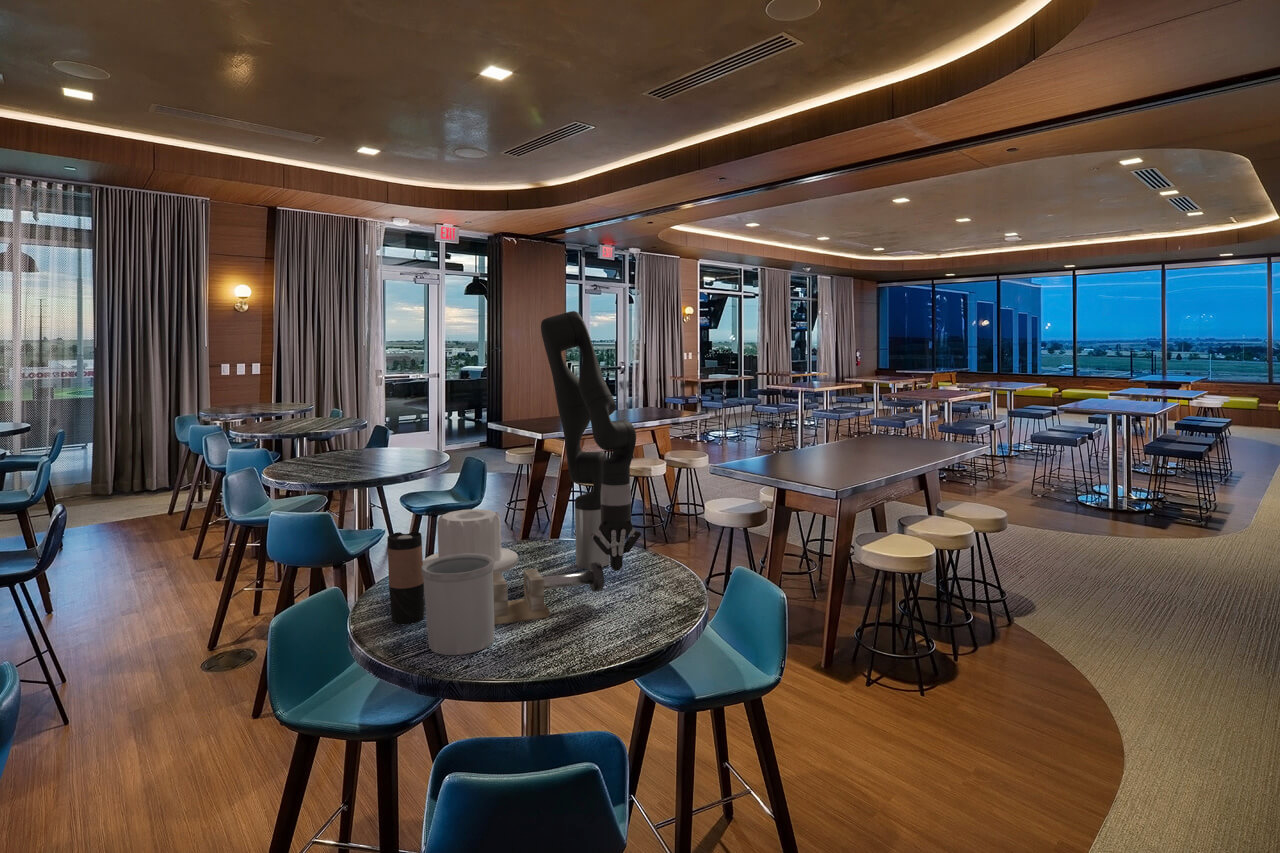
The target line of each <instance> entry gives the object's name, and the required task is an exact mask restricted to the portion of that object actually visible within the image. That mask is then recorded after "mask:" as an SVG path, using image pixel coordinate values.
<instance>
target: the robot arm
mask: <svg viewBox="0 0 1280 853" xmlns="http://www.w3.org/2000/svg"><path fill="white" fill-rule="evenodd" d="M540 332H541V337H542V341H543V346H544V349H545V353H546V356H547V357H546V358H547V361H548V363H549V368H550V371H551V376H552V381H553V386H554V394H555V398H556V405H557V409H558V414H559V417H560V418H559V419H560V422H561V427H562V431H563V436H564V444H565V451H566V452H565V453H566V461H567V469H568V475H569V478H570V480H571V481H572V482H573V483H574V484H582V485H593V486H592V490H591V491H589V492H587V493H584V494H580V495H578V496H576V497H575V499H574V521H575V524H574V526H575V527H574V530H575V531H574V532H575V537H574V538H575V566H576V567H577V568H579V569H585V570H588V566H589V564H590V563H595V562H599V563H600V564H601V566H602V568H604V566H605V567H607V565H609V567H610V568H611V569H612V570H613V571H614V572H615V571H621V569H622V568H623V565H624V564H623V563H624V562H623V556H624V555H625V554H627V553H630V552H631V551H632V548H633V547H634V546H635V544H636V543H637V542H638V540H639V538H640V537H641V535H642V534H641V532H640V531H639V530H637V529H636V528H634V525H633V523H632V490H631V489H632V488H631V482H630V481H631V474H630V473H631V463H632V460H633V456H634V452H635V448H636V442H637V432H636V429H635V426H634V425H633V424H632V422H630V421H629V420H625V419H622V420H621V419H620V420H612V419H611V417H610V416H611V415H612V414H613V413H615V411H616V409H617V404H616V401H615V399H614V397H613V394H612V393H611V391H610V389H609V387H608V385H607V383H606V380H605V378H604V376H603V372H602V371H601V367H600V364H599V360H598V357H597V355H596V351H595V348H594V346H593V343H592V340H591V337H590V333H589V331H588V328H587V325H586V323H585V320H584V319H583V317H582V316H581V314H580V313H579V312H577V311H576V310H572V311H568V312H567V311H566V312H563V313H560V314H556V315H552V316H549V317H546V318H544V319H542V320H541V322H540ZM575 348H579V350H580V354H581V367H580V373H579V377H578V376H577V375H576V374H575V373H574V372H573V371H572V370H571V369H570V368H569V367H568V366H567V364H566V363H565V361H564V359H563V356H562V352H563V351H567V350H570V349H575ZM589 424H590V426H591V430H592V437H593V439H594V442H595V443H596V445H597V446H598V447H599V448H600V449H602V450H603V451H612V453H611V456H610V457H609V458H608V457H607V455H606V454H605V453H603V452H601V451H600V452H599V451H598V452H597V451H596V452H594V451H583V450H582V449H581V440H582V437H583V435H584V433H585V431H586V429H587V427H588V426H589ZM627 538H628V539H627ZM626 539H627V540H626Z"/></svg>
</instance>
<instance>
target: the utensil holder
mask: <svg viewBox="0 0 1280 853" xmlns="http://www.w3.org/2000/svg"><path fill="white" fill-rule="evenodd" d="M493 567H494V561H493V559H492V558H491V557H490V556H487V555H484V554H475V553H463V554H453V555H447V556H443V557H439V558H435V559H432V560H430V561H428V562H426V563H424V564H423V565H422V568H421V569H422V575H423V578H424V610H425V620H426V623H425V624H426V632H427V642H428V643H427V644H428V647H429V650H430V649H431V650H432V651H431V650H430V651H431V652H433V653H435V652H436V653H435V654H439V655H444V656H462V655H468V654H472V653H477V652H479V651H482V650H484V649H486V648H488V647H489V646H490V645H492V644H493V642H494V641H495V625H494V591H493Z"/></svg>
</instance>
